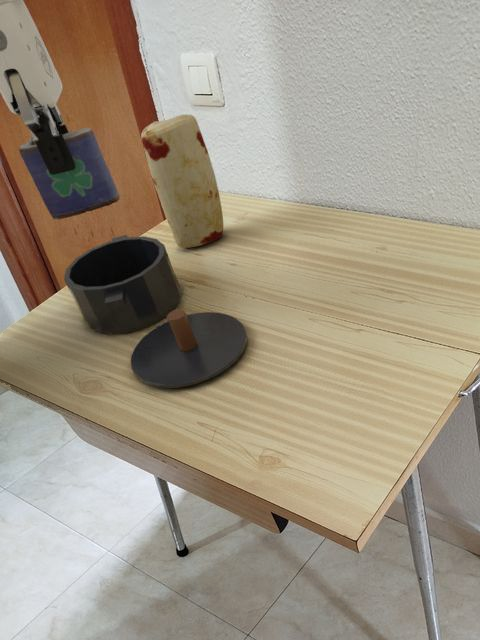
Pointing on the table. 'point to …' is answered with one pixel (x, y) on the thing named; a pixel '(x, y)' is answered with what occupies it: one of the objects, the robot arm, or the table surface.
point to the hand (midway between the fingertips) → (64, 164)
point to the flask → (73, 177)
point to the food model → (184, 180)
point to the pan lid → (188, 349)
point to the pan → (123, 284)
